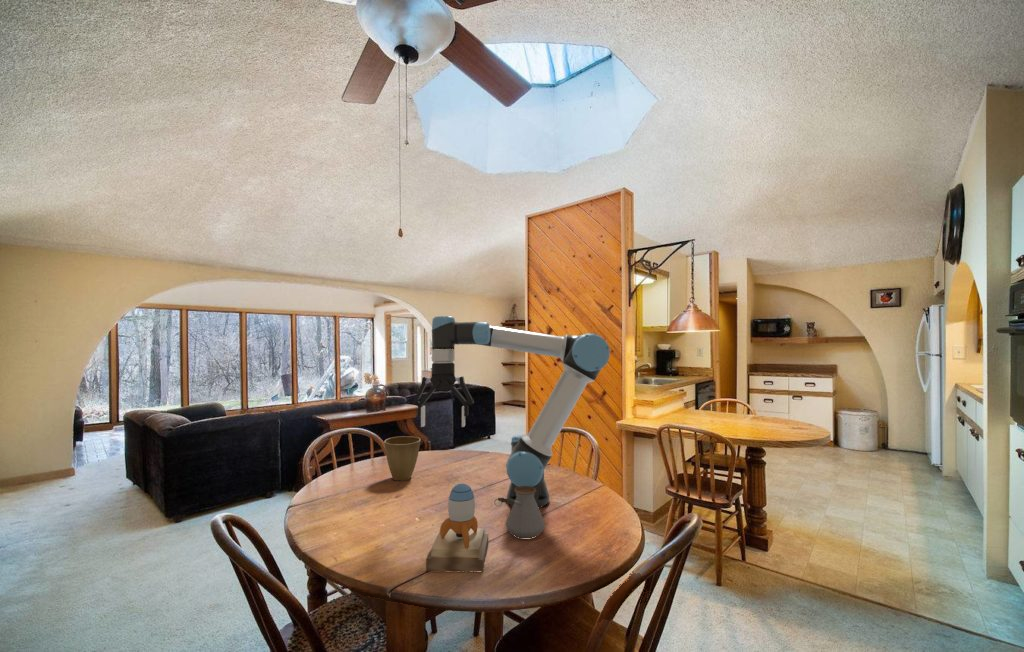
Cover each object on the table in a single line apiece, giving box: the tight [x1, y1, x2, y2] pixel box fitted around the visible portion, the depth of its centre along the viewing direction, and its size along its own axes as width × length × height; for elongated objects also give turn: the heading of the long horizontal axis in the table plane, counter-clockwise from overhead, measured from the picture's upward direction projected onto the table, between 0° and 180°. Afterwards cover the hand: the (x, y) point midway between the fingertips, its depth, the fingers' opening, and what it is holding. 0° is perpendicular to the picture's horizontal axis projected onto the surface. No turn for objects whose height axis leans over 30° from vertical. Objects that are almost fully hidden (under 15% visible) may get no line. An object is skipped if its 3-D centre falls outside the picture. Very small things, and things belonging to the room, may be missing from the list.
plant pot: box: [383, 435, 421, 481], centre depth 176 cm, size 15×15×16 cm
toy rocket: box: [439, 483, 479, 549], centre depth 109 cm, size 10×11×15 cm
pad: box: [425, 527, 489, 573], centre depth 109 cm, size 14×14×5 cm
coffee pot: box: [493, 486, 546, 538], centre depth 119 cm, size 21×12×15 cm, turn 150°
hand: (443, 426), depth 139 cm, fingers open, 13 cm apart
